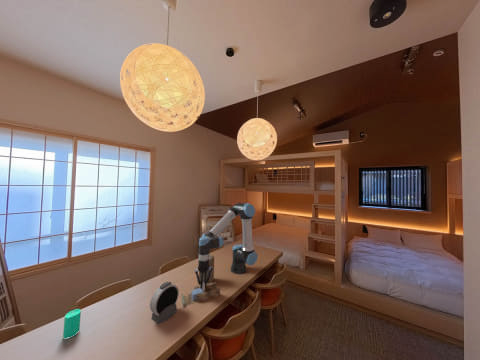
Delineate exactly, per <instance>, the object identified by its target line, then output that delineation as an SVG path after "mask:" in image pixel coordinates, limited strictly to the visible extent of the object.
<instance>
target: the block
mask: <svg viewBox="0 0 480 360" xmlns="http://www.w3.org/2000/svg"><path fill="white" fill-rule="evenodd" d="M190 291H191V292H190V294H191V297H192V300H193V301H195V300H197V294H200V293H203V291H202V289H201V288H197V289H191V290H190Z"/></svg>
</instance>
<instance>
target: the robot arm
mask: <svg viewBox="0 0 480 360" xmlns="http://www.w3.org/2000/svg"><path fill="white" fill-rule="evenodd" d="M255 214H256V208H255V206H254V205H253V204H252V203H248V202H237V203H235V204H234V205H232V206H231V207H230V208H229V209H228V210H227V213H225V214H224V216H222V217H221V219H219V221H218V222H216V224H215V225H214V226H212V228H211V229H210V230H209V231H208V232H205V233H202V235H201V237H199V241H198V264H197V265H198V266H197V268H196V269H194V273H195V276H196V280H197V284H198V286H200V288H201V289H202V291H203V292H205V288H206V284H207V282H209V279H210V274H211V271H212V267H210V266H209V255H210V250H214V249H218V248H219V249H220V248H221V247H223V246H224V244H225V243H224V242H225V241H224V238H223V237H222V236H219V234H220V233H221V232H222V231H223V230H224V229H225V227H227V226H228V225H229V224H230V222H231V221H232V220H233V219H234V218H237V217H239V219H240V220H241V225H242V226H241V227H242V228H241V229H242V231H241V232H242V243H241V244H234V245H233V246H232V262H231V265H230V272H231V273H232V274H236V275H238V274H244V273H246V272H247V265H249V266H253V265H255V264H256V262H257V260H258V256H259V255H258V253H257V252H256V250H255V246H253V244H254V243H253V228H252V227H253V226H252V223H253V222H252V220H253V218H254V217H255ZM208 269H209V271H208ZM207 271H208V275H207ZM199 272H200V273H201V276H200V280H199ZM203 273H204V283H203ZM206 275H207V279H206Z"/></svg>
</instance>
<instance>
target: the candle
mask: <svg viewBox="0 0 480 360" xmlns="http://www.w3.org/2000/svg"><path fill="white" fill-rule="evenodd" d="M81 312H82V310H81V309H80V308H75V309H73V310H70V311H68V312H67V313H66V314H65V315H64V320H63V332H62V334H63V335H62V338H63V337H64V338H67V337H71V336H73V335H75V334H76V333H77V332H78V331H79V332H80V330H81V329H80V327H81V326H80V325H81ZM75 336H76V335H75Z"/></svg>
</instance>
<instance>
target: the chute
mask: <svg viewBox="0 0 480 360" xmlns="http://www.w3.org/2000/svg"><path fill="white" fill-rule="evenodd" d="M197 288H200V285H197V286H194V289H197ZM194 289H193V290H194ZM180 297H181V298H180V299H181V303H182V308H185V307H186V306H190V305H193V304H197V303H199V302H203V301H206V300H210V299H214V298H217V297H221V289H220V288H217V282H216V281H214V282H213V281H212V283H209V284H206V288H205V292H203V293H200V294H197V300H195V301H193V300H192V297H191V293H189V294H185V295H184V293H181V296H180Z"/></svg>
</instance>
